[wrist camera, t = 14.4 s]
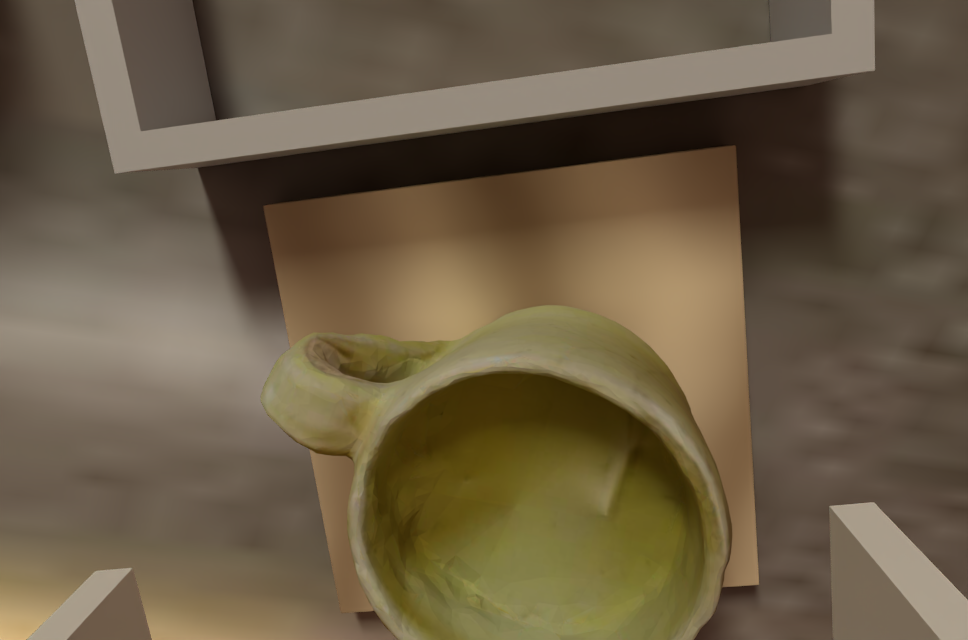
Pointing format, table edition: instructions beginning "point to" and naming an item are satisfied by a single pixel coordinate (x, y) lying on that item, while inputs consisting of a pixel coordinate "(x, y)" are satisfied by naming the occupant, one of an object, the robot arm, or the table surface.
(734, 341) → the board
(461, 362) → the mug
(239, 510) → the table surface
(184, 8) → the tub
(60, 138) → the table surface
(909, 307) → the table surface
